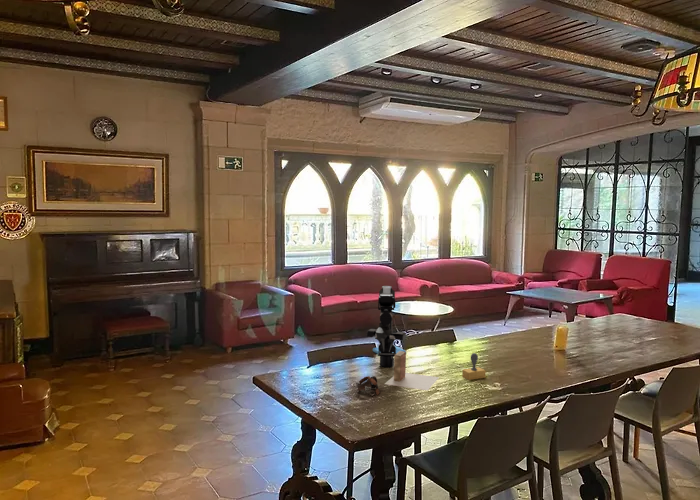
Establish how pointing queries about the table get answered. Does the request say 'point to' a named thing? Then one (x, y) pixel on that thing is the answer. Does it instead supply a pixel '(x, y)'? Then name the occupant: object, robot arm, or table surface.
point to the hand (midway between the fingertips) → (386, 351)
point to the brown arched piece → (368, 384)
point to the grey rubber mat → (414, 381)
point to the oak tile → (399, 365)
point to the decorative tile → (392, 352)
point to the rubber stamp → (473, 370)
